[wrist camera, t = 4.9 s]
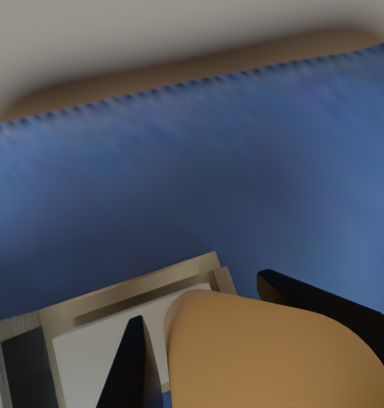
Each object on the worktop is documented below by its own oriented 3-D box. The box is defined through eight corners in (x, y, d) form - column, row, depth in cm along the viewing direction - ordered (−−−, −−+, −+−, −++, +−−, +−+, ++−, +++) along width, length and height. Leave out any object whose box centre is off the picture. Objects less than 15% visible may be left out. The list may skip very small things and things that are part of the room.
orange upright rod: (209, 278, 16) (347, 278, 4) (228, 336, 16) (451, 515, 4) (73, 327, 15) (-258, 516, 3) (88, 391, 14) (-259, 958, 2)
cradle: (212, 251, 18) (220, 247, 15) (247, 352, 17) (262, 364, 14) (44, 308, 16) (25, 313, 14) (69, 426, 15) (53, 453, 12)
